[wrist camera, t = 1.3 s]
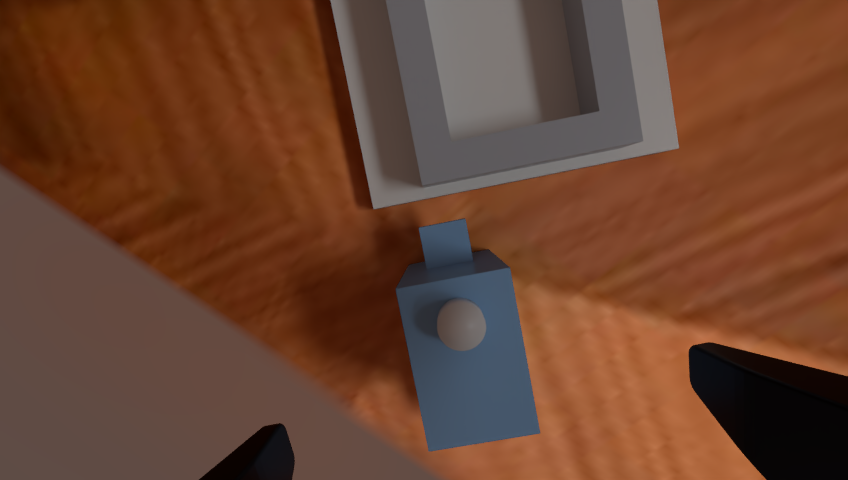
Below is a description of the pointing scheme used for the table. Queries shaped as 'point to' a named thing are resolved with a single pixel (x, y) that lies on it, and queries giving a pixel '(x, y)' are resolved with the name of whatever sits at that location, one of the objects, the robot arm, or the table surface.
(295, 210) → the table surface
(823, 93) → the table surface
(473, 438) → the block
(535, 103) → the plate
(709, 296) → the table surface
